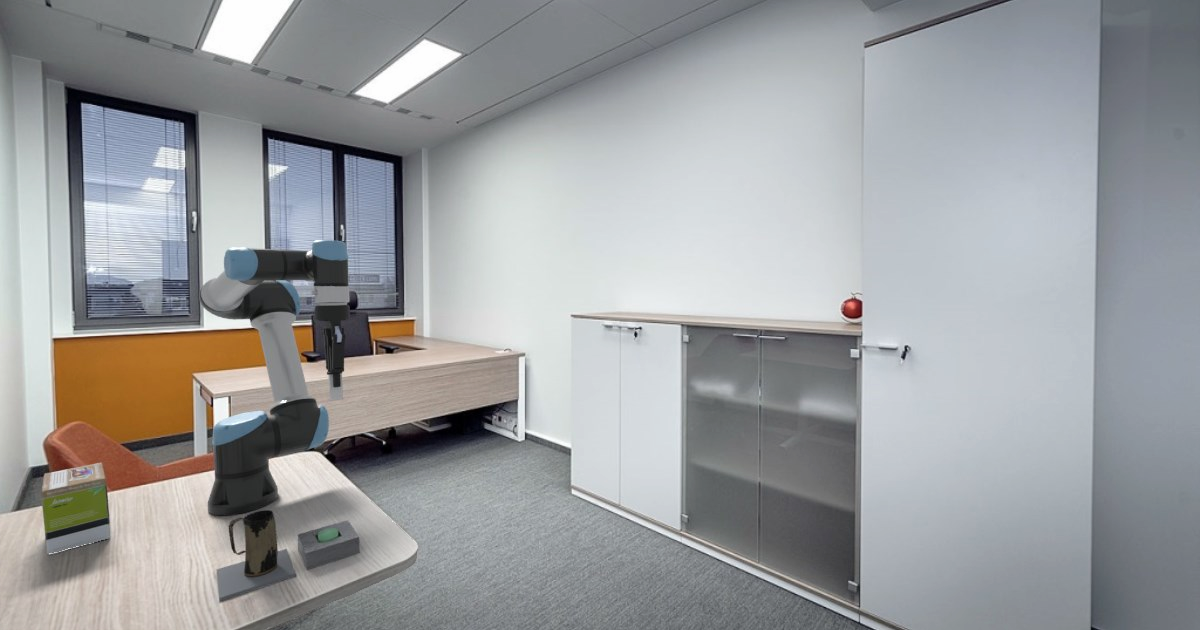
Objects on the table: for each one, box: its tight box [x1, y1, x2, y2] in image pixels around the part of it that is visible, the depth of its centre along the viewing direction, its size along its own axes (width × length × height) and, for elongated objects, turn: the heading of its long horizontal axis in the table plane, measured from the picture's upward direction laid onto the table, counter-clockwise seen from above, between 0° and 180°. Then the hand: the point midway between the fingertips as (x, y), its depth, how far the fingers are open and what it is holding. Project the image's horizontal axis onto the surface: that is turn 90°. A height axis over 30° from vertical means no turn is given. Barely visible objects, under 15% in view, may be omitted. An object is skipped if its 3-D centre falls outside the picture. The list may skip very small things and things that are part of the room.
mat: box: [216, 548, 297, 602], centre depth 98 cm, size 12×12×1 cm
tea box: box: [40, 462, 111, 555], centre depth 113 cm, size 15×10×15 cm, turn 47°
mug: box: [228, 509, 279, 577], centre depth 97 cm, size 8×6×12 cm
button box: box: [297, 520, 361, 571], centre depth 106 cm, size 10×10×4 cm
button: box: [318, 528, 338, 543], centre depth 106 cm, size 4×4×3 cm
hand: (336, 399), depth 122 cm, fingers closed
